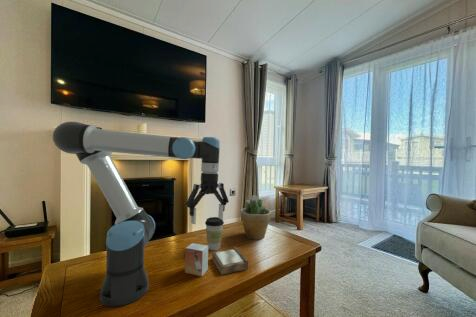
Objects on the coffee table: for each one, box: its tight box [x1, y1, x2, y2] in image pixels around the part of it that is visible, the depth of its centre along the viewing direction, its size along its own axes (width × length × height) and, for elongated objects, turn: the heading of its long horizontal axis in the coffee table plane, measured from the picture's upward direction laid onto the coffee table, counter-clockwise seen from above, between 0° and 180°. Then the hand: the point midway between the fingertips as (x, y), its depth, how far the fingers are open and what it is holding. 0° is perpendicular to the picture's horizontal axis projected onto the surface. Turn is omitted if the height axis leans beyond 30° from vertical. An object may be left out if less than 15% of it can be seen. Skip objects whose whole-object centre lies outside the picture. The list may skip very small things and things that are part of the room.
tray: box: [211, 246, 249, 275], centre depth 94 cm, size 12×14×4 cm
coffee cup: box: [204, 216, 225, 251], centre depth 110 cm, size 10×10×15 cm
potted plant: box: [240, 194, 272, 241], centre depth 127 cm, size 18×19×25 cm
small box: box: [184, 242, 209, 277], centre depth 87 cm, size 8×6×10 cm
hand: (207, 220), depth 91 cm, fingers open, 13 cm apart
